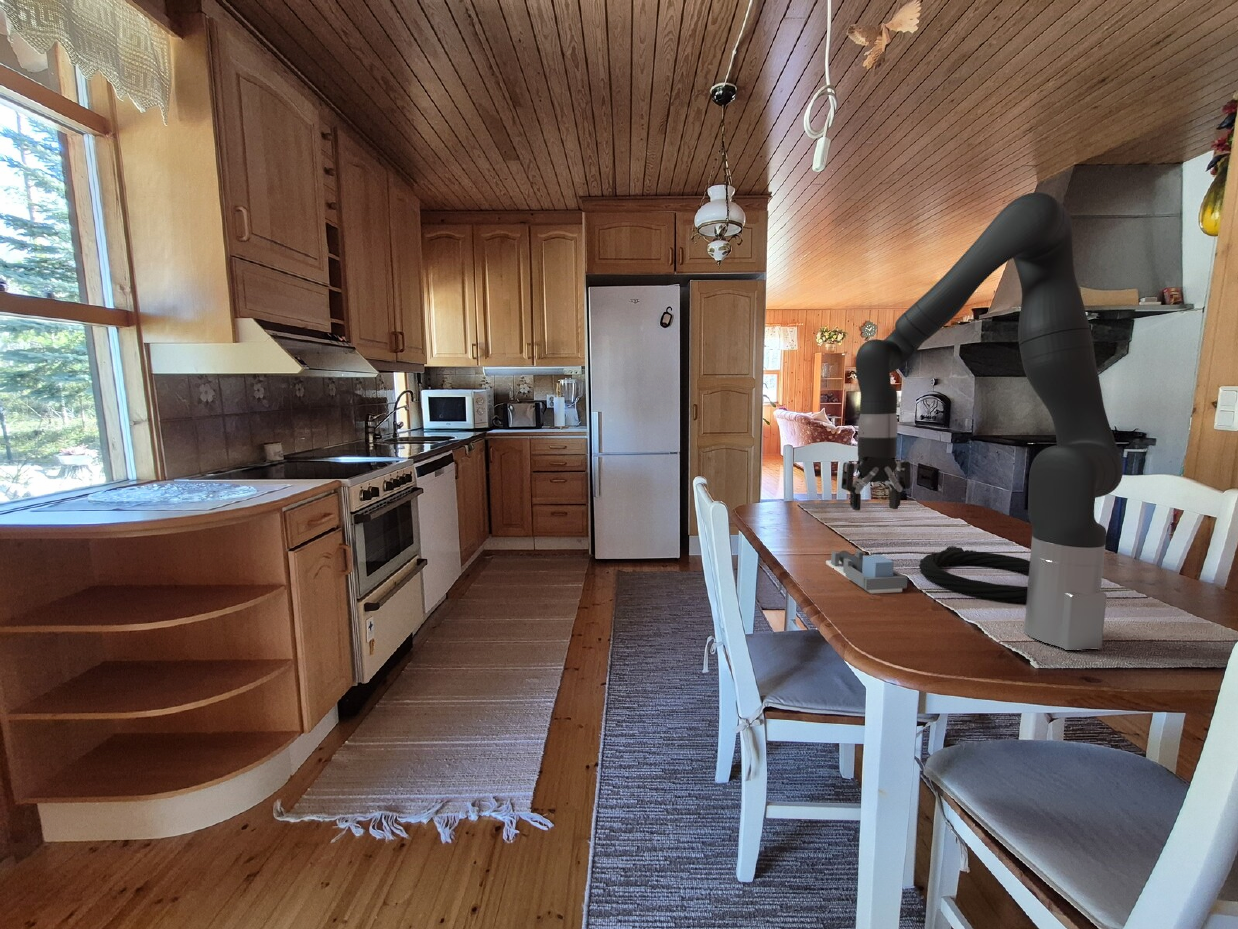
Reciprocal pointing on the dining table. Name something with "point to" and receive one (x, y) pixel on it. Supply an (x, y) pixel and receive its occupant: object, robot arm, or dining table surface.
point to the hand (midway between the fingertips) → (875, 509)
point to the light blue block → (869, 564)
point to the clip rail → (868, 583)
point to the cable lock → (975, 587)
